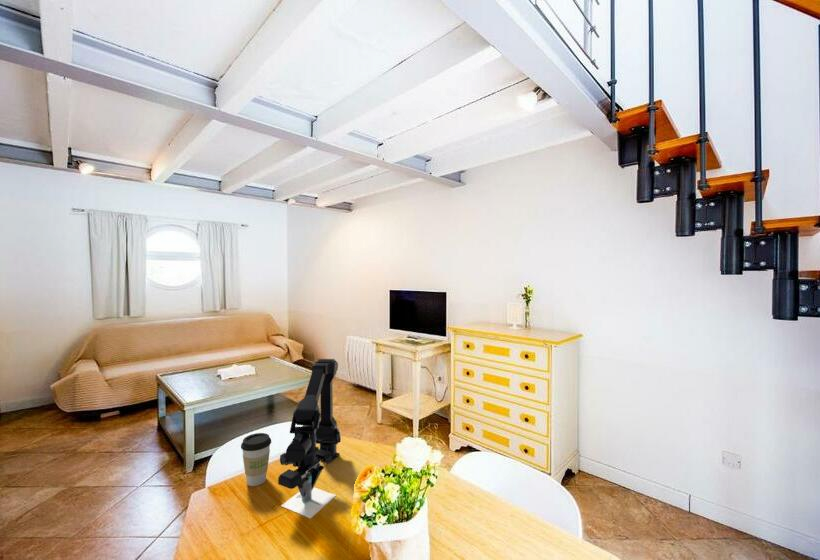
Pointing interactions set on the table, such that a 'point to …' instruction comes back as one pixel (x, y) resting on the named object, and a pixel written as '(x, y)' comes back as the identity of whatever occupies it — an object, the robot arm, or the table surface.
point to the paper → (309, 503)
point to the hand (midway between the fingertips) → (306, 493)
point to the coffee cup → (256, 457)
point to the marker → (308, 489)
